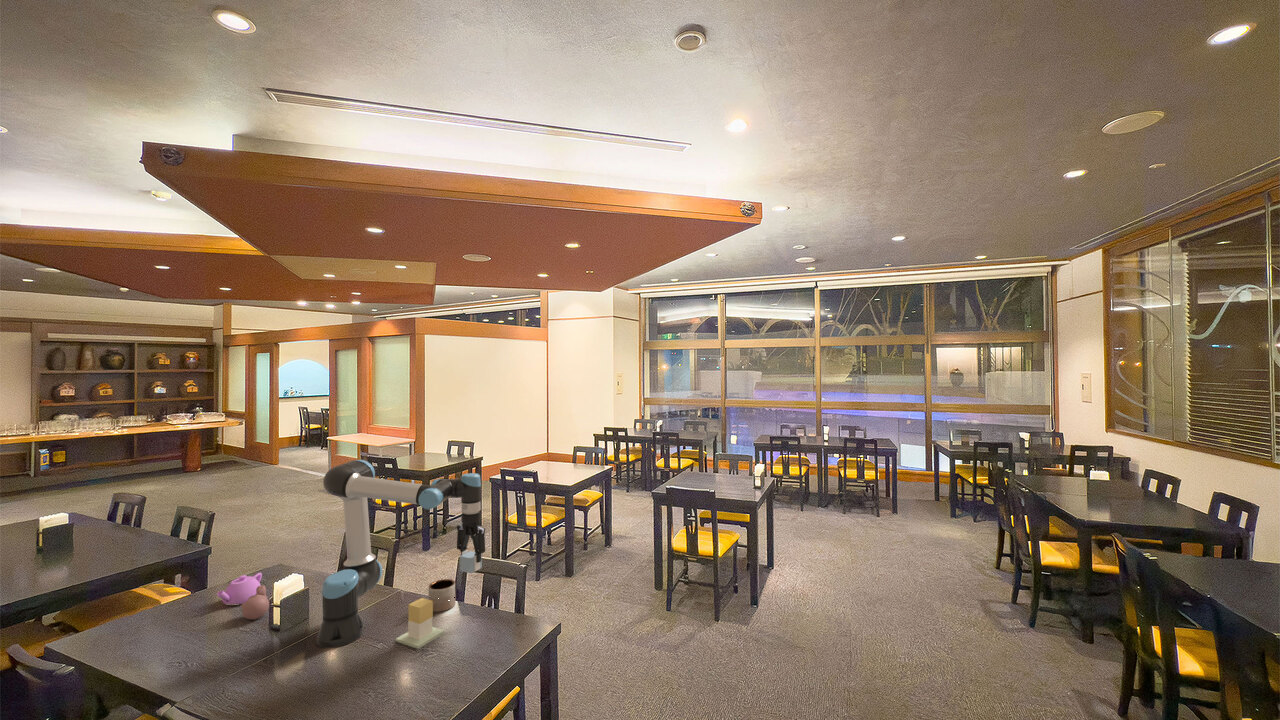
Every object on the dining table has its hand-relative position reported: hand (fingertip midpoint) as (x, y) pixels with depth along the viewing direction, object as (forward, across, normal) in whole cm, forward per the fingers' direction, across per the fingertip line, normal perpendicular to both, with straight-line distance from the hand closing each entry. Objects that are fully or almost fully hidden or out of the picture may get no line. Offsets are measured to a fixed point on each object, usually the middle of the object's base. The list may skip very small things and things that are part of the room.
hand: (470, 568), depth 200 cm
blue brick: (0, 0, 0) cm, 0 cm away
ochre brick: (+13, -7, -19) cm, 24 cm away
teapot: (+21, -106, -32) cm, 112 cm away
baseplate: (+20, -7, -19) cm, 29 cm away
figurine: (+21, -83, -38) cm, 93 cm away
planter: (+21, -19, +2) cm, 28 cm away
